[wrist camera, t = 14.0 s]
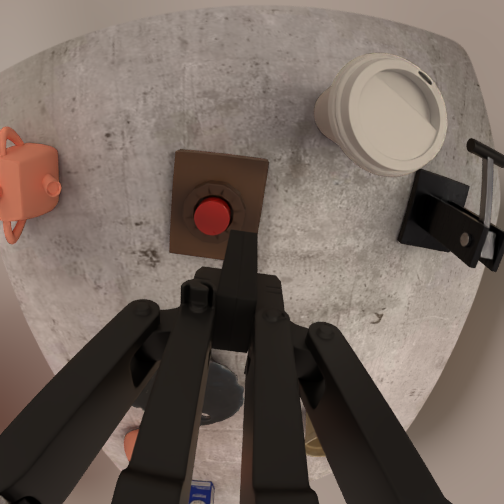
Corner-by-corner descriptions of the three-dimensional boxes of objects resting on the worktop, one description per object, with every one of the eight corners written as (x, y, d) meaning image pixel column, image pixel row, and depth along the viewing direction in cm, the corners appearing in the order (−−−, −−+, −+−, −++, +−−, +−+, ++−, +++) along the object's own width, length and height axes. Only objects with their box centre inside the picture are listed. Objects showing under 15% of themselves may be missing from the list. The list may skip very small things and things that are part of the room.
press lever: (463, 139, 24) (477, 136, 22) (496, 156, 25) (509, 154, 22) (455, 251, 26) (469, 254, 23) (488, 258, 26) (501, 261, 24)
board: (243, 412, 51) (242, 433, 47) (133, 400, 51) (127, 419, 46) (247, 325, 42) (246, 349, 37) (105, 313, 42) (92, 334, 37)
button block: (180, 149, 32) (171, 152, 28) (268, 159, 32) (270, 164, 29) (173, 245, 37) (165, 259, 33) (252, 255, 37) (252, 271, 34)
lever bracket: (416, 167, 32) (480, 194, 21) (465, 184, 33) (526, 214, 21) (396, 240, 36) (445, 290, 25) (445, 249, 37) (496, 295, 25)
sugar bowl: (187, 441, 57) (181, 478, 48) (158, 454, 61) (151, 486, 52) (140, 418, 54) (129, 456, 44) (117, 434, 58) (107, 466, 49)
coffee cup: (393, 129, 30) (472, 144, 17) (330, 170, 33) (381, 208, 19) (350, 61, 27) (413, 29, 14) (283, 102, 30) (306, 86, 16)
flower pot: (302, 396, 49) (307, 435, 41) (350, 394, 49) (360, 431, 42) (293, 423, 53) (297, 458, 45) (337, 421, 53) (344, 454, 46)
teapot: (50, 107, 29) (-2, 112, 19) (91, 176, 33) (45, 199, 24) (0, 172, 32) (-45, 191, 23) (35, 232, 36) (-6, 263, 27)
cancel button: (198, 194, 30) (195, 199, 29) (232, 199, 31) (231, 203, 29) (195, 227, 32) (192, 233, 30) (228, 231, 32) (227, 237, 31)
